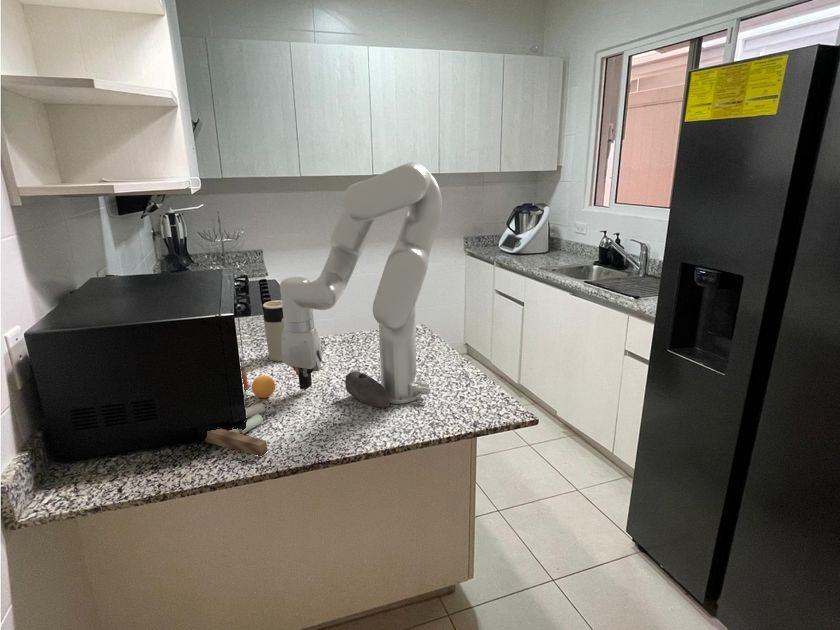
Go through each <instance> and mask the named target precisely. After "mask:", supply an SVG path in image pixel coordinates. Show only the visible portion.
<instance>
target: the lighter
mask: <svg viewBox="0 0 840 630" xmlns="http://www.w3.org/2000/svg"><path fill="white" fill-rule="evenodd" d="M239 357H240V362H241V371H242V379H243V384H244V390H245V392H247V391H246V390H248V389H249V390H250V385H249V384H248V375H247V371H246V370H247V369H246V368H247V365H246V363H244V362H243V357H242V356H239ZM249 390H248V391H249Z"/></svg>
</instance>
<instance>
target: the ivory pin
mask: <svg viewBox="0 0 840 630" xmlns="http://www.w3.org/2000/svg"><path fill="white" fill-rule="evenodd" d="M245 409H246V413H247V419H250V418H251V417H253V416H255V415H256V414H259V415H261V414H262V413H264V412H265V411H266V409H265V405H264V404H263V403H262V402H259V403H258V404H254V405H252V406H249V407H246V408H245Z"/></svg>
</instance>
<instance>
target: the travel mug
mask: <svg viewBox="0 0 840 630" xmlns="http://www.w3.org/2000/svg"><path fill="white" fill-rule="evenodd" d="M262 307H263V308H264V312H263V323H264V330H265V337H266V339H265V340H266V344H267V345H266V346H267V354H268V359H269V360H270V361H274V362H283V359H282V346H281V341H282V331H283V329H284V328H285V325H284V323H282V318H284V317H283V308H282V299H281V300H280V299H279V300H269V301H266V302H265V303H263V304H262Z"/></svg>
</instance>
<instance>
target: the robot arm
mask: <svg viewBox="0 0 840 630" xmlns="http://www.w3.org/2000/svg"><path fill="white" fill-rule="evenodd" d="M403 208H406V211H405V214H404V218H403V220H402V224H401V228H400V231H399V234H398V237H397V240H396V242H395V245H394V246H393V248H392V250H391V251H390V253H389V256H388V257H387V259H386V262H385V265H384V267H383V268H384V269H383V271H382V275H381V277H380V280H379V284H378V287H377V290H376V293H375V297H374V299H373V303H372V314H373V315H372V316H373V318H374V320H375V322H376V323H377V324H378V339H379V340H378V342H379V359H380V360H379V361H380V362H379V363H380V381H381V382H380V384H381V385H382V386H383V387H384V388H385V390H386V391H387V393H388V394H389V397H390V404H396V405H397V404H398V405H400V404H401V405H402V404H407V403H411V402H414V401H417V400H418V399H419V398H420V397H421V396H422V395H426V396H430V393H431V388H430V384H429V383H426V382H424V383H423V382H422V381H421V376H419V375H417V347H416V346H417V344H416V343H417V337H416V336H417V335H416V334H417V333H416V329H417V328H416V327H417V326H416V311H417V310H416V308H417V305H416V304H417V301H418V298H419V296H420V293H421V290H422V288H423V284H424V282H425V278H426V275H427V271H428V268H429V267H428V266H429V258H430V254H431V251H432V247H433V244H434V242H435V238H436V235H437V232H438V228H439V226H440V225H439V224H440V221H441V219H442V218H441V217H442V211H443V199H442V192H441V189H440V187H439V184H438V182H437V180H436V179H435V177H434V176H433V175H432V174H431V172H430V171H429V170H428V169H427V168H426V167H425V166H424V165H422V164H420V163H417V162H412V161H411V162H406V163H403V164H401V165H399V166H397V167H395V168H392V169H389V170H387V171H385V172H383V173H380V174H377V175H375V176H373V177H370V178H368V179H366V180H362V181H358V182H356V183H353V184H351V185H350V186H349V187H347V189H346V190H345V192H344V193H343V196H342V209H341V212H340V214H339V216H338V219H337V221H336V223H335V225H334V227H333V230H332V233H331V235H330V239H329V240H330V250H329V254H328V257H327V259H326V262H325V264H324V266H323V269H322V271H321V273H320V275H319V276H318V277H317V278H316V280H313V281H310V280H309V278H306V277H303V276H291V277H287V278H284V279H283V280H281V282H280V284H279V287H280V288H279V289H280V299H281V300H282V308H283V317H284V318H282V323H284V325H285V328H284V329H283V331H282V341H281V346H282V359H283V361H282V363H284V365H286V366H288V367H290V368H292V369H293V371H295V375H296V376H298V384H299V389H300V390H304V391H306V390H307V389H309V388H310V387H312V385H313V381H312V373H313V372H320V370H322V365H321V363H322V361H323V360H322V359H323V356H322V348H321V342H320V337H319V334H318V331H317V328H315V320H314V311H313V310H319V311H326V310H329V309H332V308H333V307H334V306H335V305H336V304H337V302H338V301H339V299H340V297H342V295H343V294H344V292H345V290H346V288H347V286H348V284H349V281H350V279H351V277H352V275H353V272H354V270H355V268H356V265H357V263H358V260H359V259H360V258H361V256H362V254H363V251H364V249H365V246H366V245H367V242H368V240H369V238H370V235H371V233H372V231H373V229H374V226H375V225H376V223H377V221H378V218H381V217H383V216H385V215H387V214H391V213H392V212H393V213H394V212H395V211H397V210H401V209H403Z"/></svg>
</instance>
